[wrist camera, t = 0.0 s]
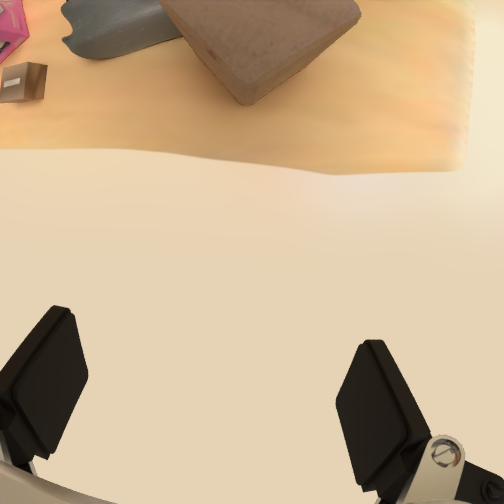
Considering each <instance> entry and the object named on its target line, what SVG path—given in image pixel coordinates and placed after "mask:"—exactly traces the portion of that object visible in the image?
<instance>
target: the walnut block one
mask: <svg viewBox="0 0 504 504" xmlns="http://www.w3.org/2000/svg"><path fill="white" fill-rule="evenodd" d="M47 66H48V65H42V64H37V63H31V62H26V63H22V64H18V65H14V66H10V67H6V68H3V72H2V80H1V88H0V103H14V102H25V101H31V100H38V99H44V89H45V81H46V73H47Z"/></svg>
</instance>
